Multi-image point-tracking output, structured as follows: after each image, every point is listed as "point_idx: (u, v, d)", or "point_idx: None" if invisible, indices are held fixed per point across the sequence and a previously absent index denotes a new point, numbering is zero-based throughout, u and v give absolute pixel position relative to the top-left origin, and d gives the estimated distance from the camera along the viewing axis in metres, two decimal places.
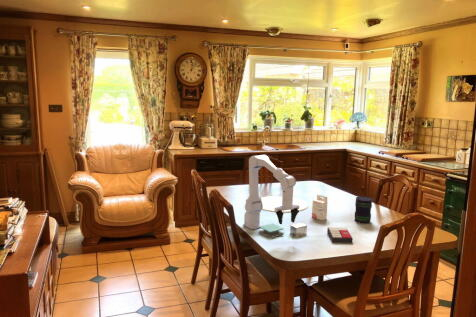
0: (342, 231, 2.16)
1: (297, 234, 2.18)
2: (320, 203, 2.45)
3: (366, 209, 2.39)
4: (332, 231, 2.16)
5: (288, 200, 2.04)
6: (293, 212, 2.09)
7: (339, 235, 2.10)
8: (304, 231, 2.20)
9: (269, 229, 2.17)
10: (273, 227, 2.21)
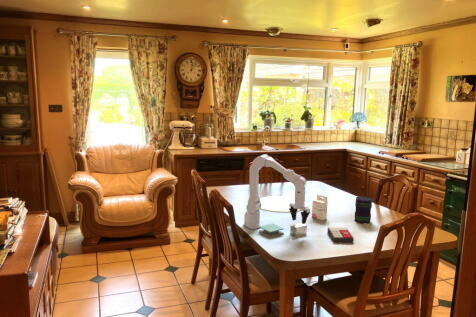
0: (343, 231, 2.16)
1: (297, 234, 2.18)
2: (320, 203, 2.45)
3: (366, 209, 2.39)
4: (333, 231, 2.16)
5: (295, 199, 2.17)
6: None
7: (340, 235, 2.10)
8: (304, 231, 2.20)
9: (269, 229, 2.17)
10: (273, 227, 2.21)
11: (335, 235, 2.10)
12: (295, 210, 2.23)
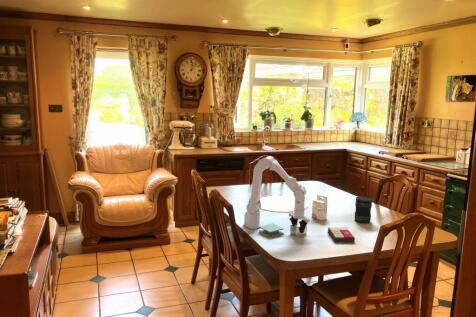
0: (343, 231, 2.16)
1: (297, 234, 2.18)
2: (320, 203, 2.45)
3: (366, 209, 2.39)
4: (333, 231, 2.16)
5: (294, 209, 2.18)
6: None
7: (341, 235, 2.11)
8: (304, 231, 2.20)
9: (269, 229, 2.17)
10: (273, 227, 2.21)
11: (336, 235, 2.10)
12: (296, 220, 2.23)
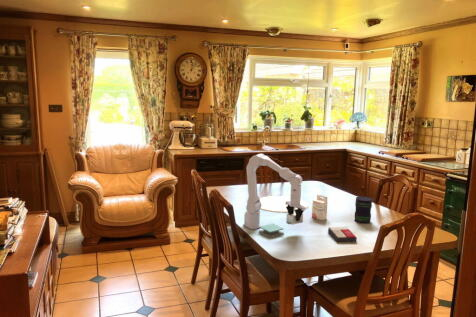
0: (344, 230, 2.17)
1: (293, 222, 2.16)
2: (320, 203, 2.45)
3: (366, 209, 2.39)
4: (335, 231, 2.16)
5: (290, 197, 2.17)
6: None
7: (343, 235, 2.11)
8: (300, 220, 2.19)
9: (269, 229, 2.17)
10: (273, 227, 2.21)
11: (338, 235, 2.10)
12: (292, 208, 2.22)
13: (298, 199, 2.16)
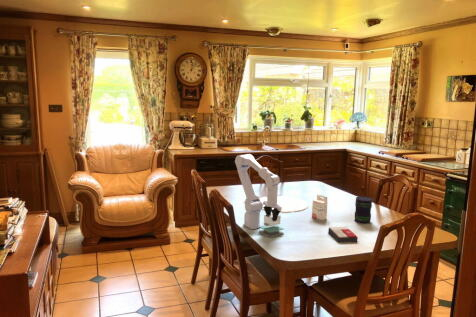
0: (345, 230, 2.17)
1: (270, 224, 2.17)
2: (320, 203, 2.45)
3: (366, 209, 2.39)
4: (335, 231, 2.16)
5: (267, 197, 2.17)
6: None
7: (344, 235, 2.11)
8: (278, 221, 2.19)
9: (269, 229, 2.17)
10: (273, 227, 2.21)
11: (339, 235, 2.11)
12: (270, 208, 2.21)
13: (274, 199, 2.15)
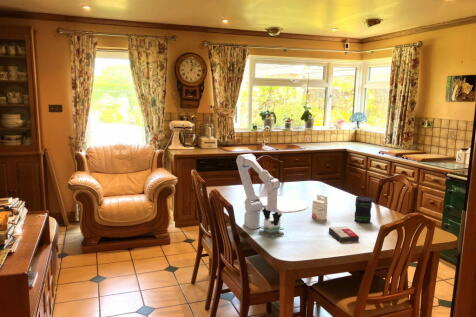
0: (345, 230, 2.18)
1: (270, 228, 2.17)
2: (320, 203, 2.45)
3: (366, 209, 2.39)
4: (336, 231, 2.16)
5: (267, 201, 2.17)
6: None
7: (345, 234, 2.12)
8: (278, 225, 2.20)
9: None
10: None
11: (341, 235, 2.11)
12: (268, 212, 2.23)
13: (274, 203, 2.16)
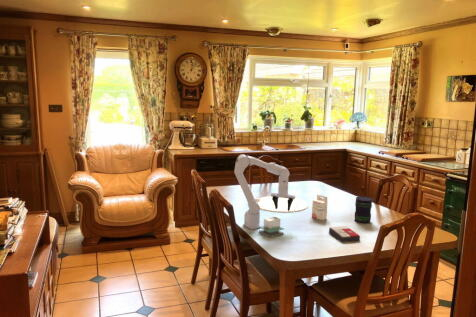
0: (346, 230, 2.18)
1: (270, 228, 2.17)
2: (320, 203, 2.45)
3: (366, 209, 2.39)
4: (337, 231, 2.16)
5: (280, 188, 2.27)
6: None
7: (347, 234, 2.12)
8: (278, 225, 2.20)
9: None
10: None
11: (342, 235, 2.11)
12: (277, 199, 2.33)
13: (287, 189, 2.28)
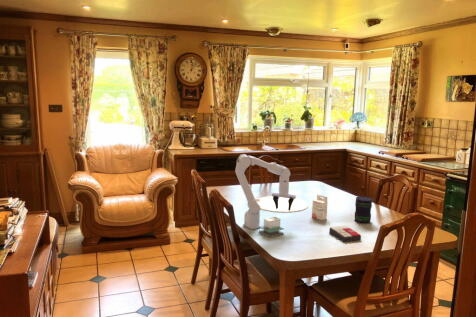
0: (346, 229, 2.19)
1: (270, 228, 2.17)
2: (320, 203, 2.45)
3: (366, 209, 2.39)
4: (338, 231, 2.16)
5: (281, 188, 2.28)
6: None
7: (348, 234, 2.12)
8: (278, 225, 2.20)
9: None
10: None
11: (344, 234, 2.11)
12: (277, 199, 2.34)
13: (288, 189, 2.29)
